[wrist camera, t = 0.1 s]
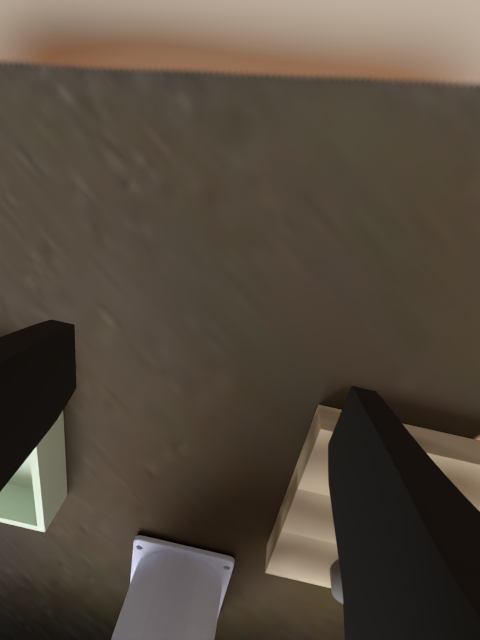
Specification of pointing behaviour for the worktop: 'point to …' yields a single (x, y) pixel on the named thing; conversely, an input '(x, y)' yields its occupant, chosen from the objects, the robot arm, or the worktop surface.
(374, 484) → the robot arm
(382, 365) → the worktop surface
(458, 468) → the plate
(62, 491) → the tray
